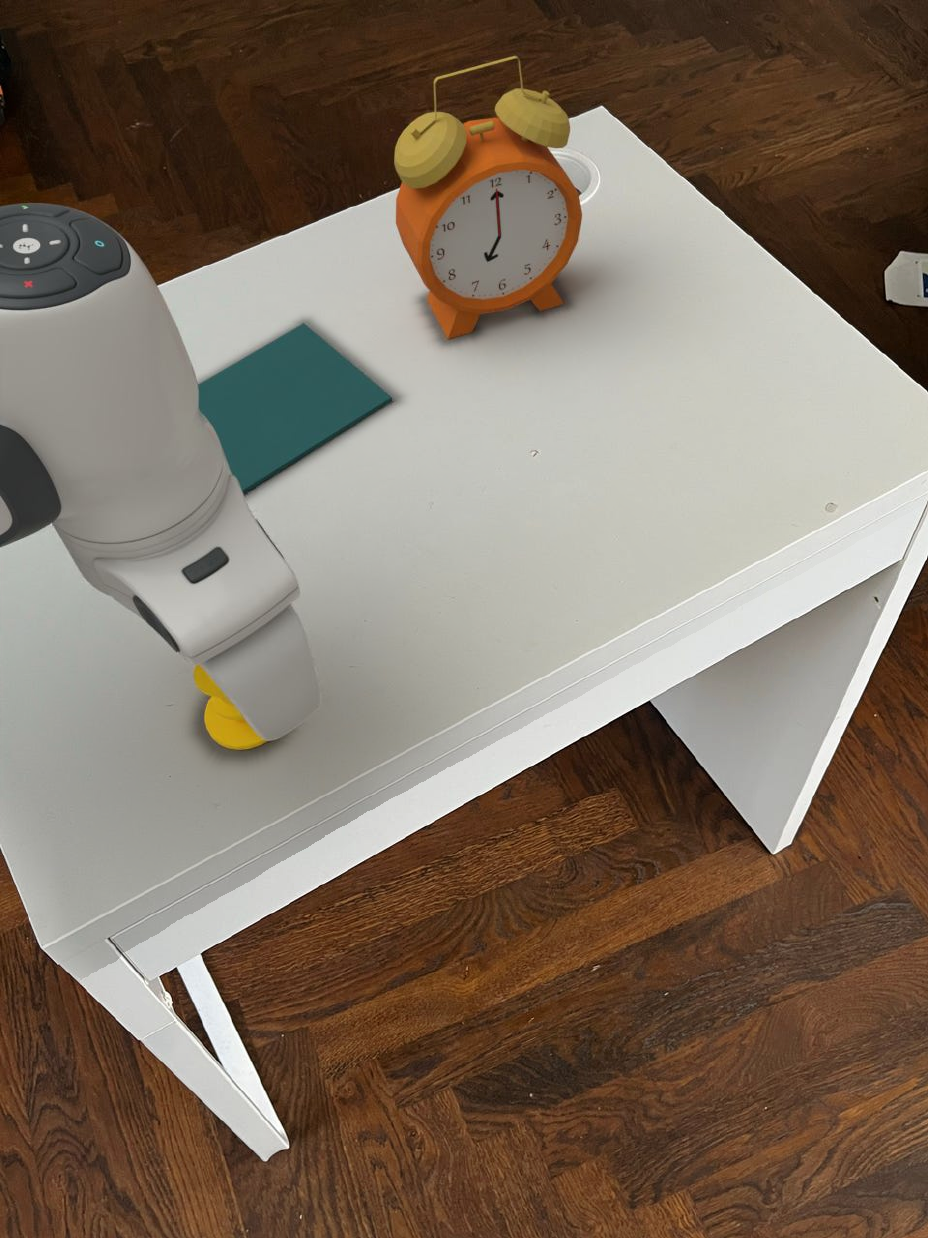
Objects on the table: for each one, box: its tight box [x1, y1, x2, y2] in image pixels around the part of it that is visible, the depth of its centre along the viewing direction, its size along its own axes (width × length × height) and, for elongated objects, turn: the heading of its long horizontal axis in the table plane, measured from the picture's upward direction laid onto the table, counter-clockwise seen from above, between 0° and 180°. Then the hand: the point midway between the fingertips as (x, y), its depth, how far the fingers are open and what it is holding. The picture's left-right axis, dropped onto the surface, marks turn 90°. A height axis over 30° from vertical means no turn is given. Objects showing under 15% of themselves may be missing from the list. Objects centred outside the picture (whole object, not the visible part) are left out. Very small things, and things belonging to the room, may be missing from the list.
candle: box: [193, 664, 268, 751], centre depth 67 cm, size 5×5×16 cm
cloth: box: [198, 322, 393, 495], centre depth 89 cm, size 18×12×1 cm, turn 129°
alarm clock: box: [393, 55, 583, 340], centre depth 86 cm, size 13×6×20 cm, turn 110°
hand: (221, 662), depth 68 cm, fingers closed on candle
